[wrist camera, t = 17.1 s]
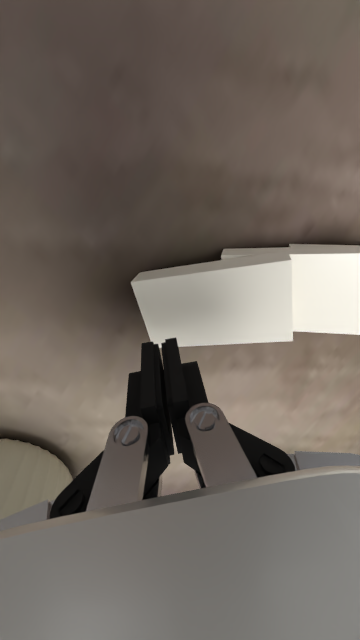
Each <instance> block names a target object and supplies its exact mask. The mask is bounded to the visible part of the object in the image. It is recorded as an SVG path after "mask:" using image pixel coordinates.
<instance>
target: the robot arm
mask: <svg viewBox="0 0 360 640" xmlns="http://www.w3.org/2000/svg"><path fill="white" fill-rule="evenodd" d="M161 345H162V356H163V364H162V360H161V355H160V350H159V346H158V344H154V343H153V342H147V343H142V350H141V371H139V372H134V373H130V374H129V380H128V392H127V404H126V415H125V418H123V419H121V420H120V421H118V422H117V423H116V424H115V425H114V426H113V427H112V429H111V431H110V433H109V436H108V440H107V443H106V446H105V449H104V451H102V452H101V453H100V454H99V455H98V456H97V457H96V458H95V459H94V460H93V461H92V462H91V463H90V464H89V465H88V466H87V467H86V468H85V469H84V470H83V471H82V472H81V473H80V474H79V475H78V476H77V477H76V478H75V479H74V480H73V481H72V482H71V483H70V484H69V485H68V486H67V487H66V488H65V489H64V490H63V491H62V492H61V493H60V494H59V495H58V496H57V498H56V499H55V500H53V501H51V502H50V501H49V500H48V499H47V500H45V501H43V502H40V503H38V504H36V505H33V506H31V507H29V508H26V509H24V510H22V511H19V512H17V513H15V514H12V515H10V516H8V517H5V518H3V519H1V520H0V640H360V456H359V455H356V454H351V453H329V452H302V451H295V453H294V454H286V453H285V452H284V451H282V450H281V449H279V448H277V447H275V446H273V445H271V444H269V443H267V442H265V441H263V440H261V439H259V438H257V437H255V436H253V435H252V434H250V433H248V432H246V431H244V430H242V429H240V428H238V427H236V426H234V425H232V424H230V423H228V421H227V419H226V417H225V416H224V414H223V412H222V411H221V409H220V408H219V407H217V406H216V405H214V404H211V403H208V400H207V396H206V393H205V389H204V385H203V382H202V378H201V374H200V371H199V367H198V364H197V361H195V362H189V363H184V364H181V360H180V355H179V349H178V344H177V339H176V338H170V339H165V342H164V343H161ZM163 366H164V369H163ZM171 424H172V426H171ZM172 428H173V433H174V437H175V442H176V446H177V451H178V454H179V453H182V455H183V460H184V463H185V464H187V465H188V466H190V467H191V468H193V469H194V471H195V475H196V478H197V481H198V485H199V488H200V489H197V490H192V491H187V492H182V493H177V494H171V495H166V496H161V490H162V473H163V472H164V470H165V469H166V468H167V467H168V464H170V455H174V446H173V436H172Z"/></svg>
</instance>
